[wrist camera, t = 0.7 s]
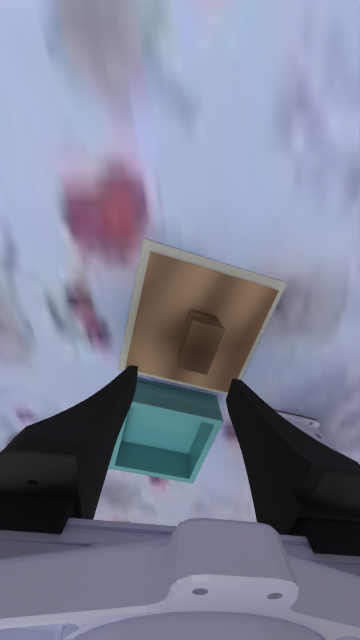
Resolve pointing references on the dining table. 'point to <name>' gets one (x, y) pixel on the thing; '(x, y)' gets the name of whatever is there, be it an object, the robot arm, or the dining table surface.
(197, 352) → the lid
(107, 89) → the dining table surface
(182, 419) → the dish
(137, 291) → the mat
